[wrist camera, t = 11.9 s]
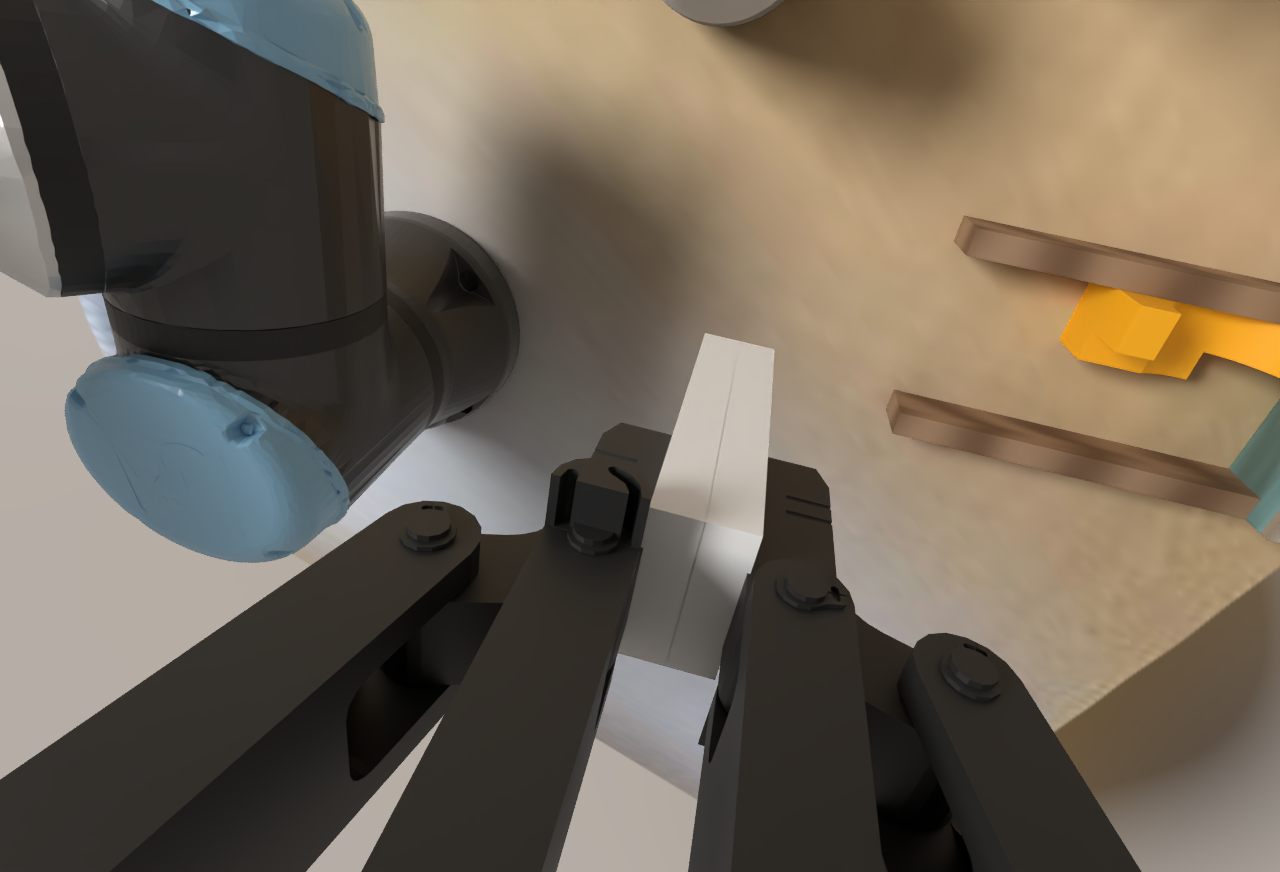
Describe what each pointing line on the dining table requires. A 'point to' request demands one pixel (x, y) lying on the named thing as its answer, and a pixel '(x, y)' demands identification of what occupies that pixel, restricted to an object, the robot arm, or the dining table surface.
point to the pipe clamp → (1164, 334)
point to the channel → (1250, 489)
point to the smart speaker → (722, 10)
